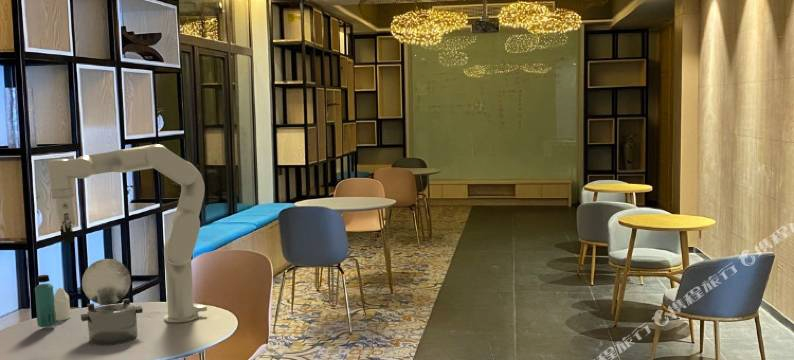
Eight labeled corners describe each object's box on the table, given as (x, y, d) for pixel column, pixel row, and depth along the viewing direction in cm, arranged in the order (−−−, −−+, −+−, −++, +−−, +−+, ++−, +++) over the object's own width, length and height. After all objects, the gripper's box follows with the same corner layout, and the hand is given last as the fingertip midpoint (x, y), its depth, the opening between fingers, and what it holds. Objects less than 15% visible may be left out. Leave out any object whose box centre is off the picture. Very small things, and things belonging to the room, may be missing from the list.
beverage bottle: (49, 331, 283) (45, 277, 281) (33, 330, 284) (29, 277, 282) (60, 326, 289) (56, 273, 287) (44, 325, 291) (40, 273, 289)
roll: (56, 290, 295) (48, 288, 299) (58, 321, 296) (51, 319, 300) (71, 287, 300) (63, 285, 303) (73, 317, 301) (66, 315, 304)
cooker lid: (132, 301, 283) (131, 300, 286) (128, 256, 284) (127, 256, 287) (84, 307, 275) (83, 307, 278) (80, 261, 276) (79, 261, 279)
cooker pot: (139, 327, 285) (137, 297, 284) (147, 339, 270) (145, 307, 269) (80, 336, 276) (78, 305, 275) (85, 349, 261) (83, 316, 260)
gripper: (76, 194, 272) (81, 242, 274) (71, 190, 287) (75, 236, 289) (53, 197, 268) (58, 245, 270) (49, 192, 283) (54, 238, 285)
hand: (67, 240), depth 280 cm, fingers open, 9 cm apart
